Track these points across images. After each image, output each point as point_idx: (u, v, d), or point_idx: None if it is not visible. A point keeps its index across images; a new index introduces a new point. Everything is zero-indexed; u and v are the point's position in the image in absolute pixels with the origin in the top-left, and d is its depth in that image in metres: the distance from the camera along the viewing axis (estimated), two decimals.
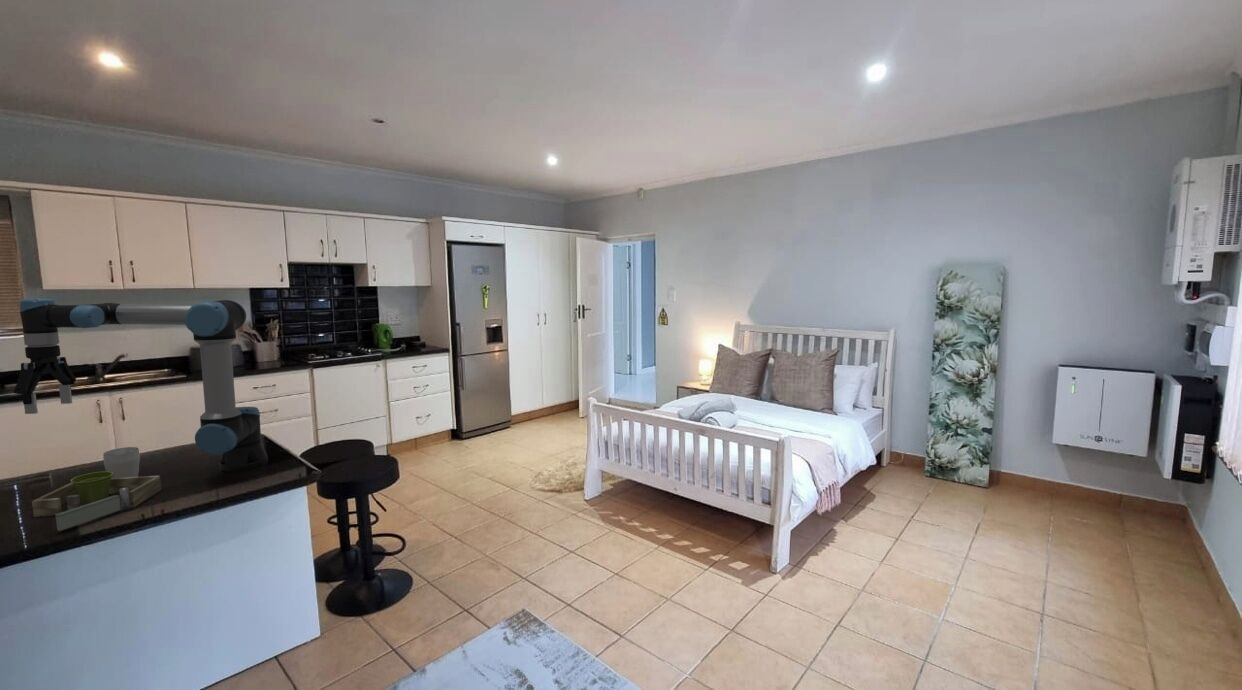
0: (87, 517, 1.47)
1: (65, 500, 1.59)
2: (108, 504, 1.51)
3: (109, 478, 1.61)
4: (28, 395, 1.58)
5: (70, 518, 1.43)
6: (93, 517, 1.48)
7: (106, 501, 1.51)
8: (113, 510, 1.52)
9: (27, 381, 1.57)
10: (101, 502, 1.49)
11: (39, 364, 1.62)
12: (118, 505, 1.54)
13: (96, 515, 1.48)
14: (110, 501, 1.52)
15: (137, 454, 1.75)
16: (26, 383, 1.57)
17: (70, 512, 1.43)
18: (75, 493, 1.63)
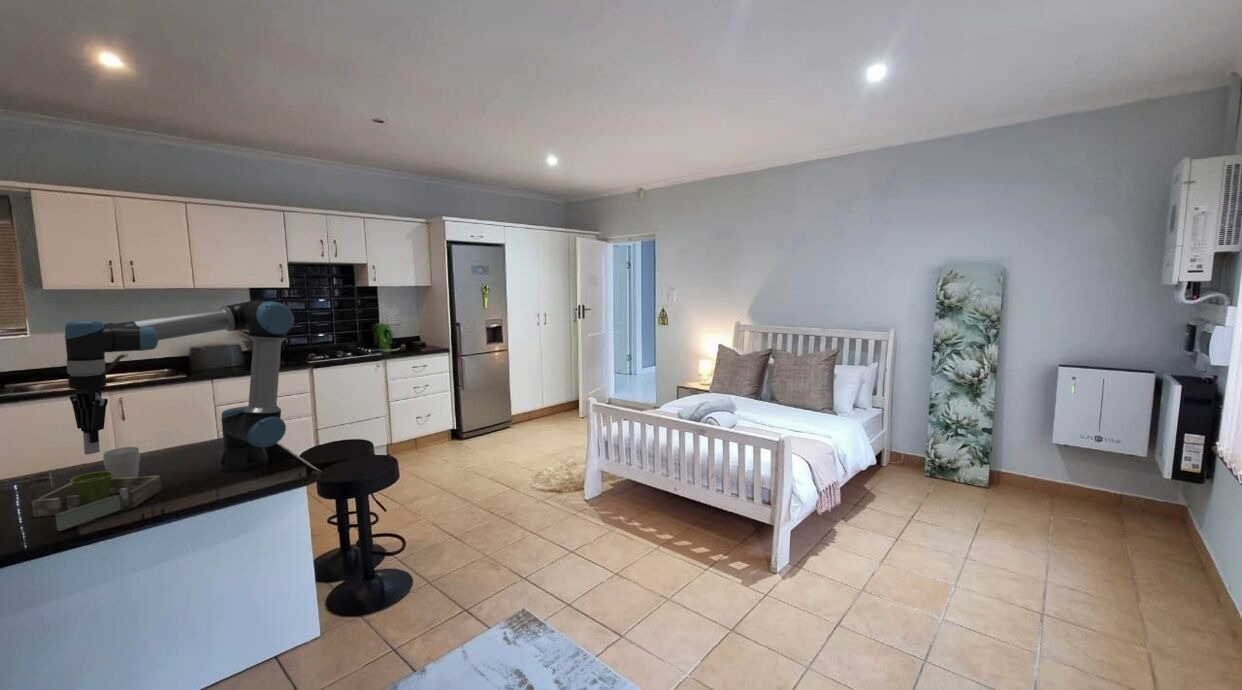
0: (87, 517, 1.47)
1: (65, 500, 1.59)
2: (108, 504, 1.51)
3: (109, 478, 1.61)
4: None
5: (70, 518, 1.43)
6: (93, 517, 1.48)
7: (106, 501, 1.51)
8: (113, 510, 1.52)
9: (75, 416, 1.46)
10: (101, 502, 1.49)
11: (76, 393, 1.45)
12: (118, 505, 1.54)
13: (96, 515, 1.48)
14: (110, 501, 1.52)
15: (137, 454, 1.75)
16: None
17: (70, 512, 1.43)
18: (75, 493, 1.63)
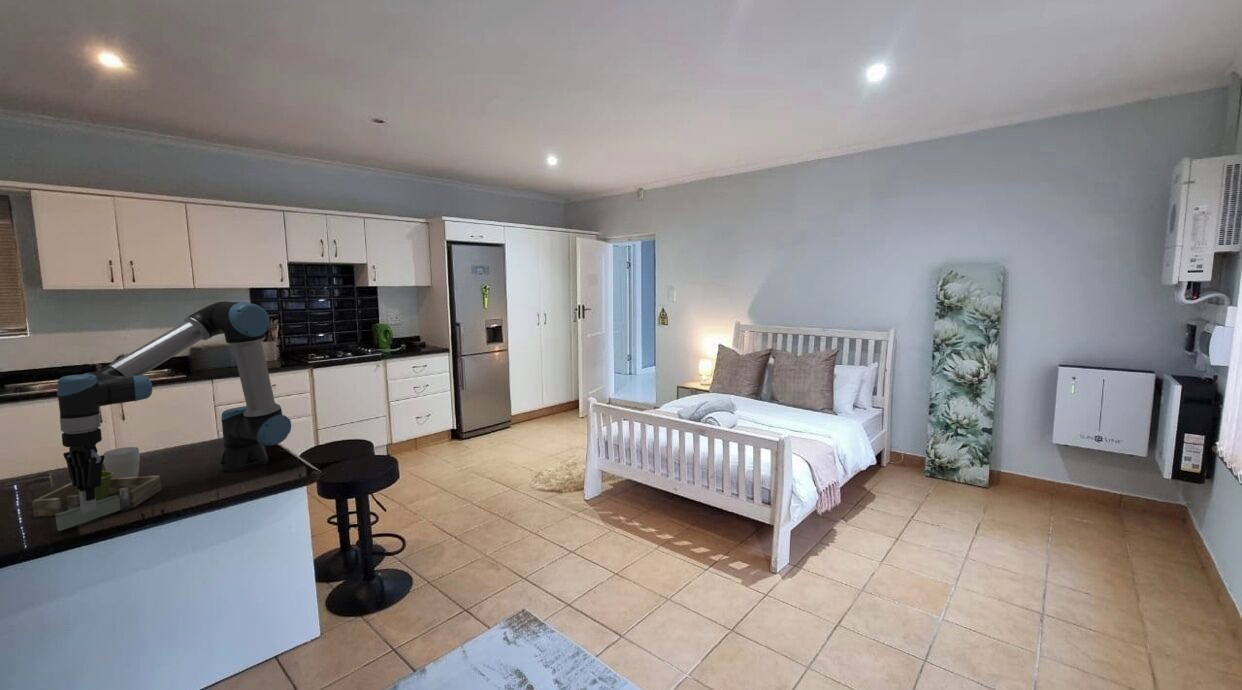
0: (87, 517, 1.47)
1: (65, 500, 1.59)
2: (108, 504, 1.51)
3: (109, 478, 1.61)
4: None
5: (70, 518, 1.43)
6: (93, 517, 1.48)
7: (106, 501, 1.51)
8: (113, 510, 1.52)
9: (69, 473, 1.41)
10: (101, 502, 1.49)
11: (70, 450, 1.40)
12: (118, 505, 1.54)
13: (96, 515, 1.48)
14: (110, 501, 1.52)
15: (137, 454, 1.75)
16: None
17: (70, 512, 1.43)
18: (75, 493, 1.63)
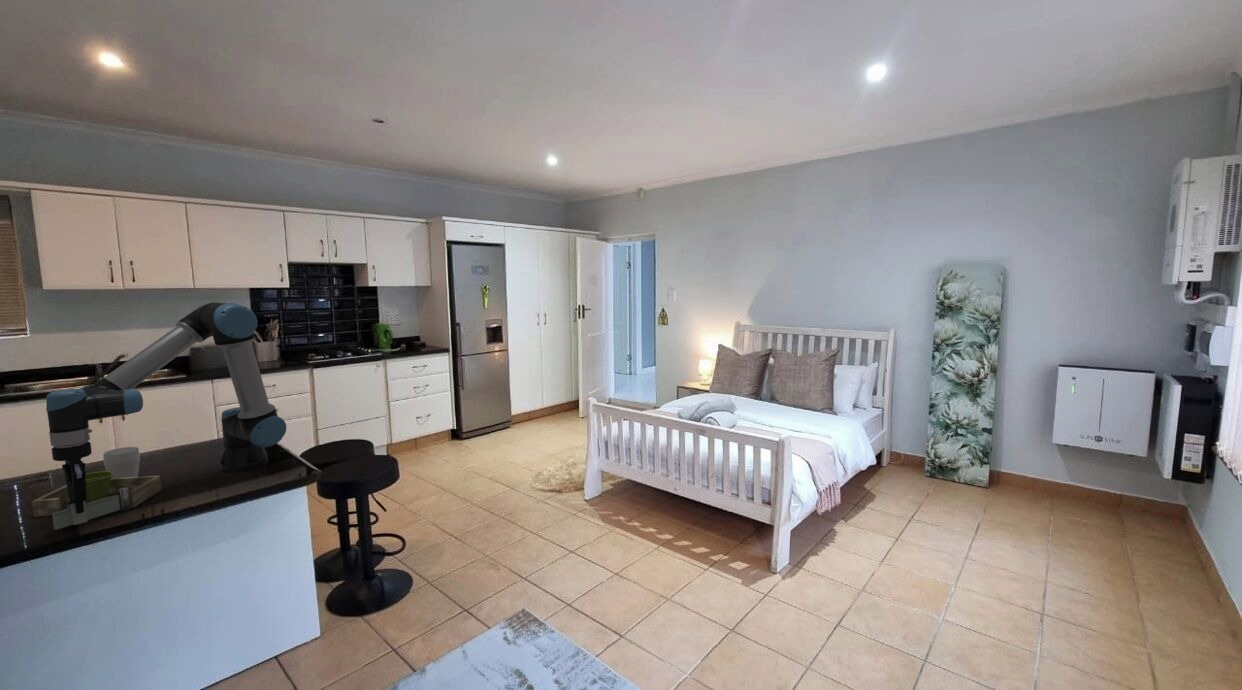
0: None
1: (65, 500, 1.59)
2: (106, 504, 1.51)
3: (109, 478, 1.61)
4: None
5: (67, 517, 1.43)
6: (91, 517, 1.48)
7: (105, 501, 1.51)
8: (112, 510, 1.52)
9: None
10: (99, 502, 1.50)
11: (65, 463, 1.43)
12: (117, 505, 1.54)
13: (93, 515, 1.49)
14: (109, 501, 1.52)
15: (137, 454, 1.75)
16: None
17: (67, 511, 1.43)
18: None
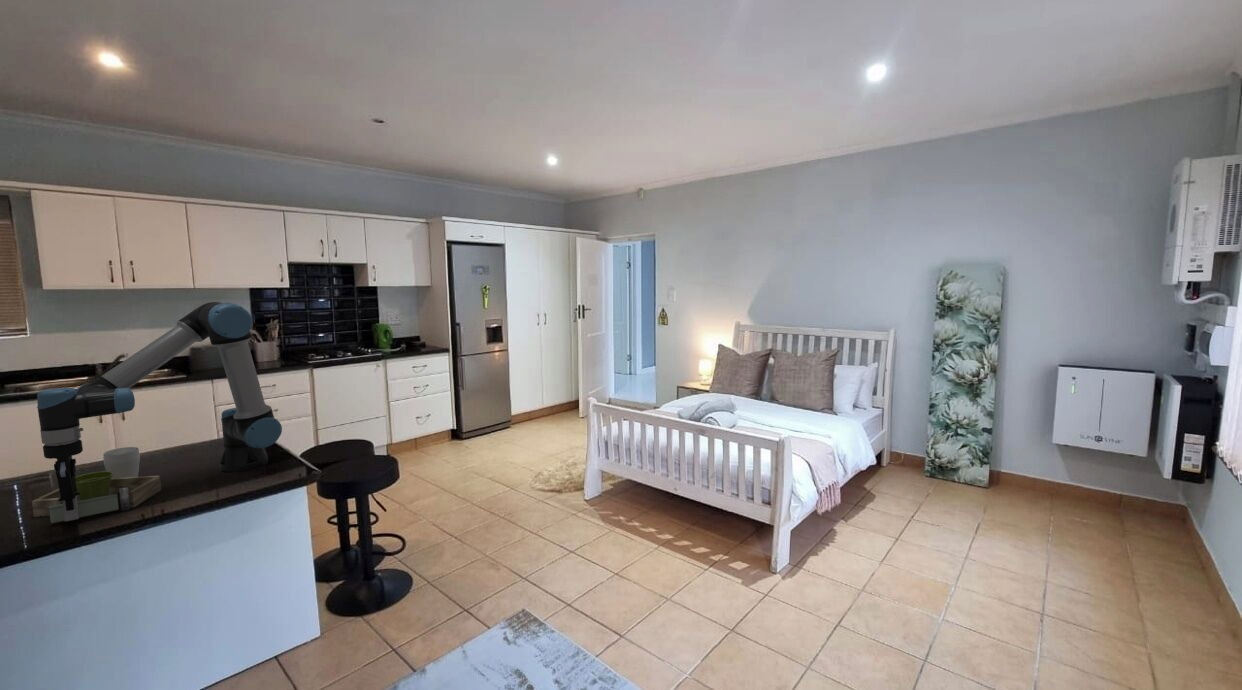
0: (80, 513, 1.49)
1: None
2: (104, 502, 1.52)
3: (109, 478, 1.61)
4: None
5: (62, 512, 1.46)
6: (87, 514, 1.50)
7: (102, 499, 1.52)
8: (110, 509, 1.53)
9: None
10: (96, 500, 1.51)
11: None
12: (115, 504, 1.54)
13: (90, 512, 1.50)
14: (106, 500, 1.52)
15: (137, 454, 1.75)
16: None
17: (62, 506, 1.46)
18: None
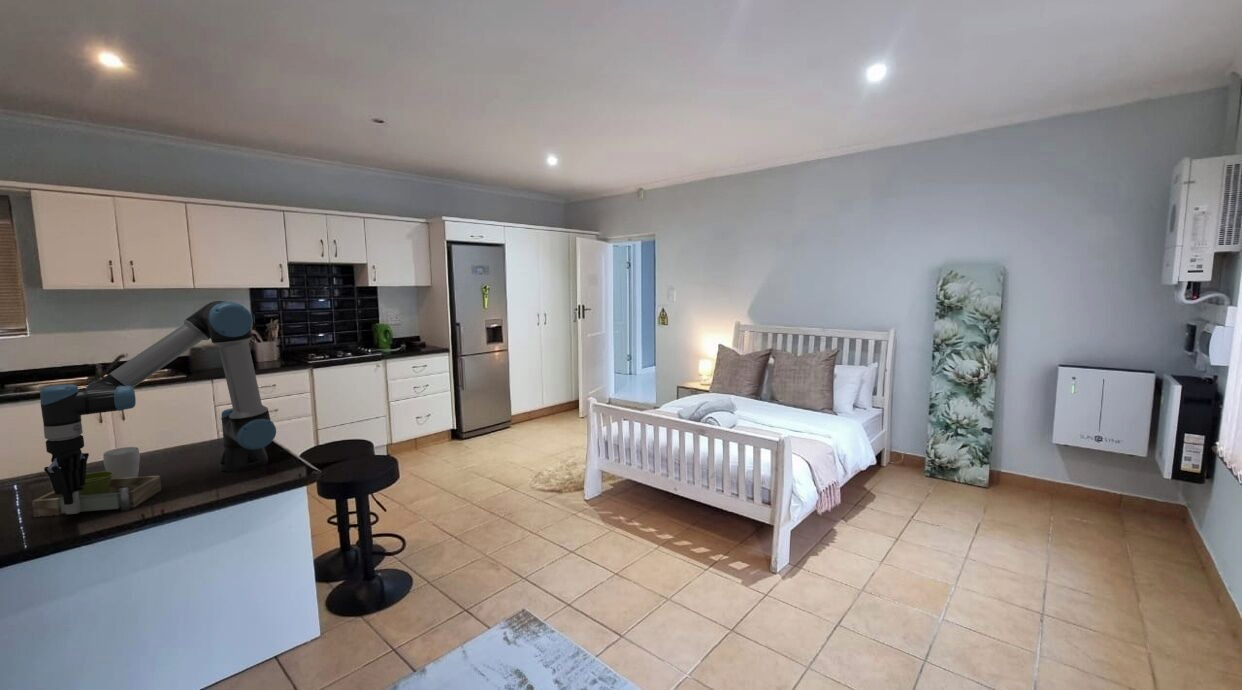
0: (86, 507, 1.53)
1: None
2: (105, 500, 1.54)
3: (109, 478, 1.61)
4: None
5: None
6: (91, 509, 1.53)
7: (103, 497, 1.53)
8: (110, 507, 1.54)
9: None
10: (98, 496, 1.53)
11: None
12: (115, 503, 1.55)
13: (94, 508, 1.53)
14: (107, 498, 1.54)
15: (137, 454, 1.75)
16: None
17: None
18: None
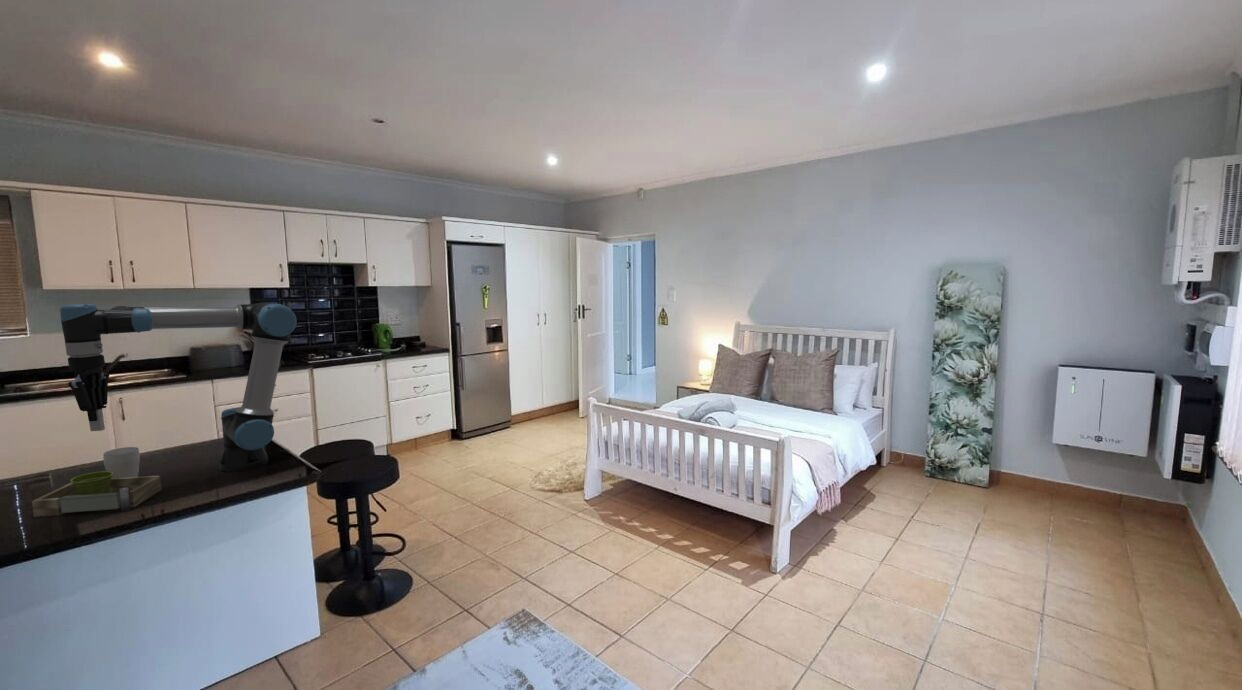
0: (86, 507, 1.53)
1: None
2: (105, 500, 1.54)
3: (109, 478, 1.61)
4: None
5: (71, 504, 1.52)
6: (91, 508, 1.53)
7: (103, 497, 1.53)
8: (111, 507, 1.54)
9: None
10: (98, 496, 1.53)
11: None
12: (115, 503, 1.55)
13: (94, 508, 1.53)
14: (107, 498, 1.54)
15: (137, 454, 1.75)
16: None
17: (70, 498, 1.51)
18: (75, 493, 1.63)
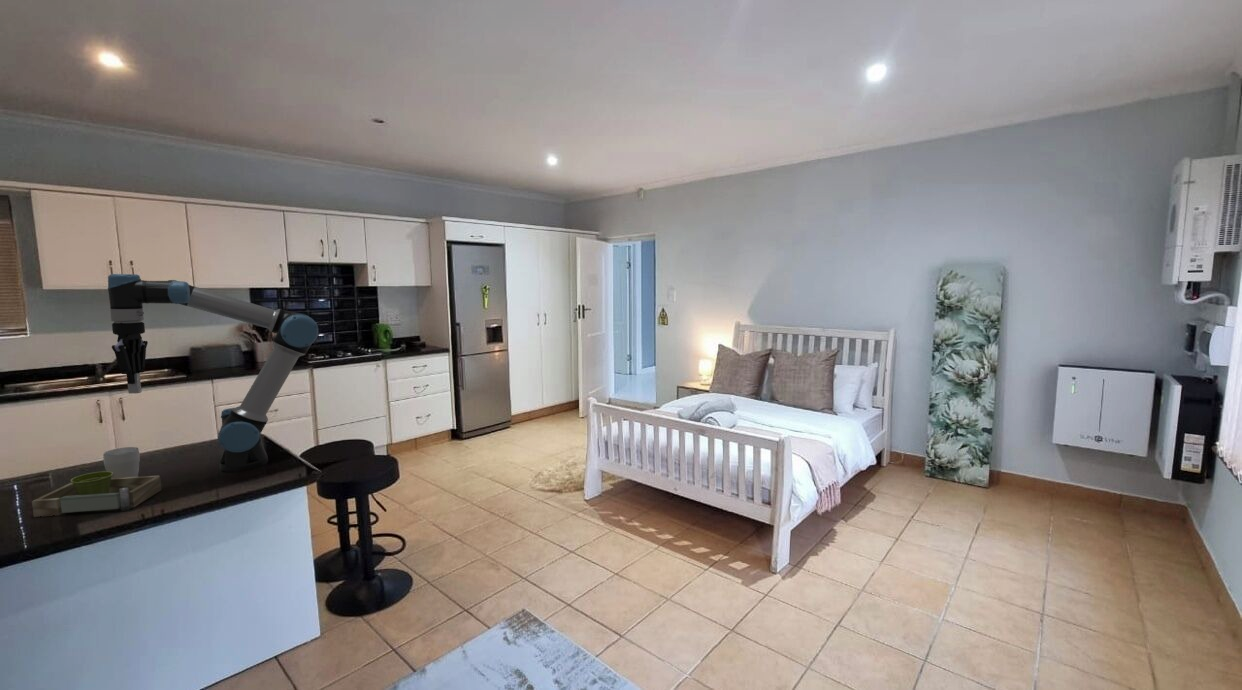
0: (86, 507, 1.53)
1: None
2: (105, 500, 1.54)
3: (109, 478, 1.61)
4: None
5: (71, 504, 1.52)
6: (91, 508, 1.53)
7: (103, 497, 1.53)
8: (111, 507, 1.54)
9: None
10: (98, 496, 1.53)
11: None
12: (115, 503, 1.55)
13: (94, 508, 1.53)
14: (107, 498, 1.54)
15: (137, 454, 1.75)
16: None
17: (70, 498, 1.51)
18: (75, 493, 1.63)
